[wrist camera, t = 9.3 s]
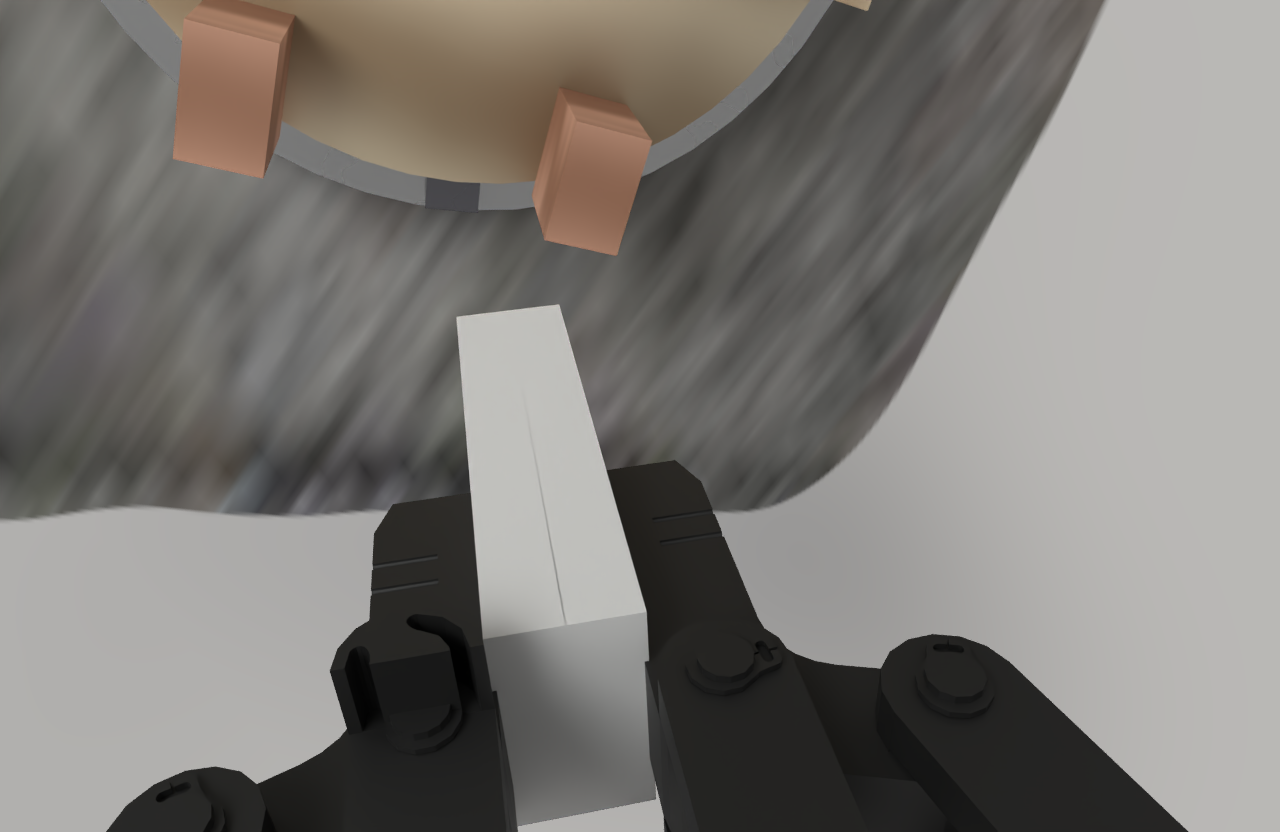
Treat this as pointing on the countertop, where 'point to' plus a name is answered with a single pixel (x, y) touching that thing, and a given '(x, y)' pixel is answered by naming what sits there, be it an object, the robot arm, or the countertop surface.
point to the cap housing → (328, 162)
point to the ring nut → (470, 88)
